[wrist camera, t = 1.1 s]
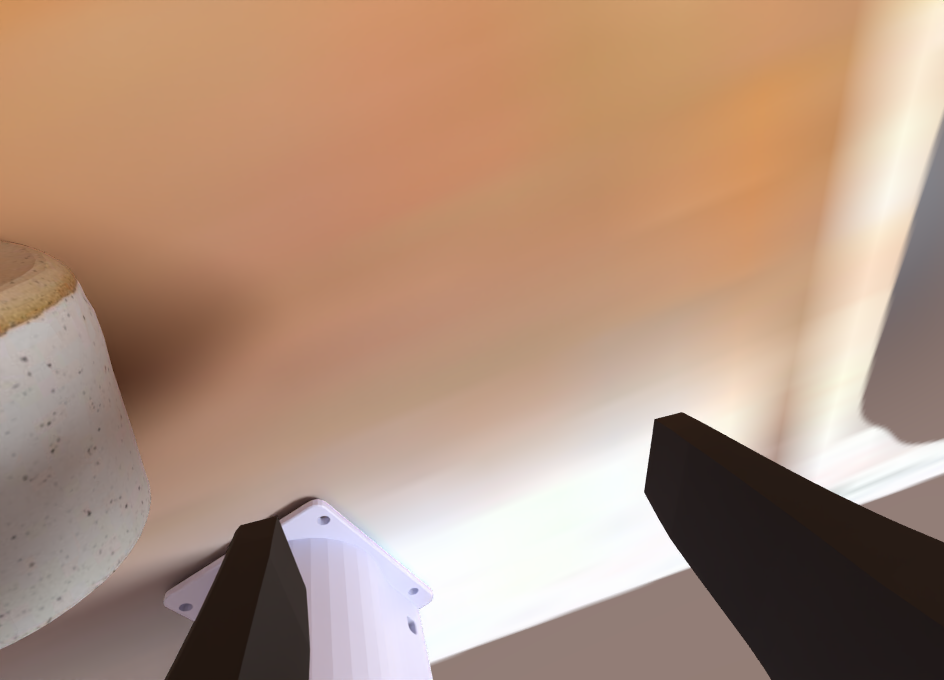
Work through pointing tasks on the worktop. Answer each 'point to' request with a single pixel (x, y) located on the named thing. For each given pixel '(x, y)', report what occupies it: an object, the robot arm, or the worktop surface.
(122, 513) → the ceramic mug
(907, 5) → the worktop surface
